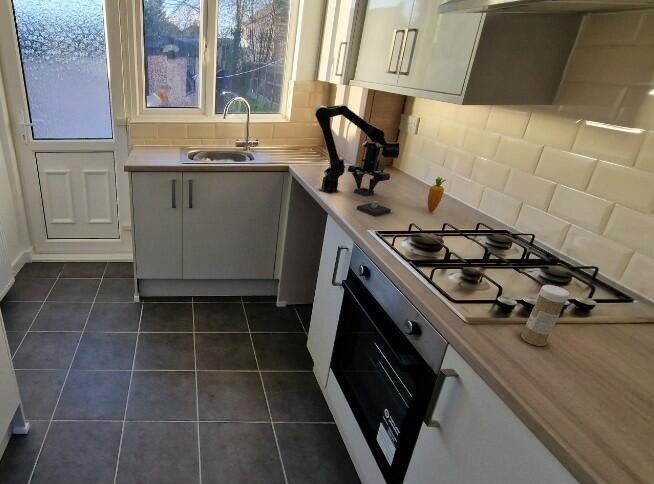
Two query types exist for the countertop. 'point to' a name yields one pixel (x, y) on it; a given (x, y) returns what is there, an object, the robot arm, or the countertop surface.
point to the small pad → (363, 191)
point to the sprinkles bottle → (544, 314)
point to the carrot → (435, 195)
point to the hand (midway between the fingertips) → (364, 190)
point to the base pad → (373, 208)
